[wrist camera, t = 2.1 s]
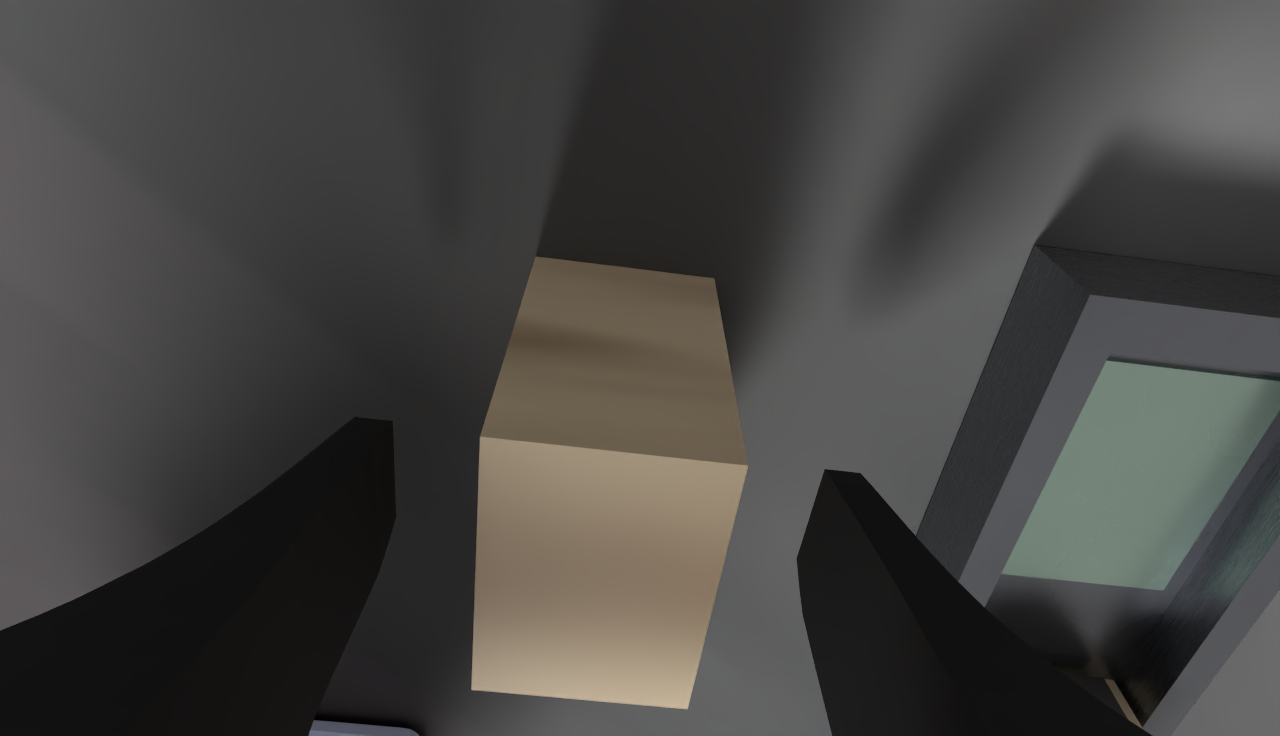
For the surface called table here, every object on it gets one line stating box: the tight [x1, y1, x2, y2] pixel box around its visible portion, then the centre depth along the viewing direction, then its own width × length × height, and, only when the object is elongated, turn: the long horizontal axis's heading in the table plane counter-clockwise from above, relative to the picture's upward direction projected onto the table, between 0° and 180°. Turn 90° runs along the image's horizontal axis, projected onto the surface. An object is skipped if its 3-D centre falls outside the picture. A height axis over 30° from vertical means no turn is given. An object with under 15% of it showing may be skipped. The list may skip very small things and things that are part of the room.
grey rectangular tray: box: [916, 245, 1280, 736], centre depth 18 cm, size 16×7×2 cm, turn 173°
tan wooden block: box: [471, 256, 748, 709], centre depth 14 cm, size 5×4×6 cm, turn 173°
